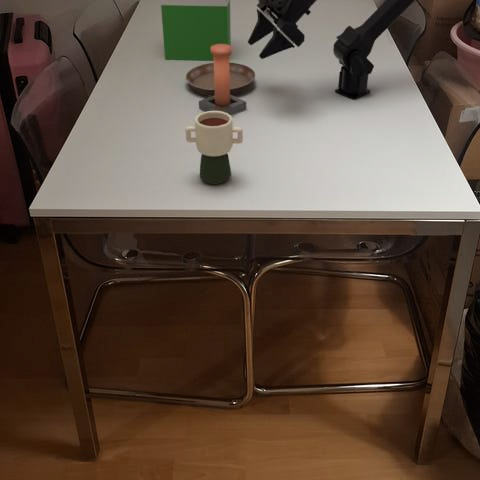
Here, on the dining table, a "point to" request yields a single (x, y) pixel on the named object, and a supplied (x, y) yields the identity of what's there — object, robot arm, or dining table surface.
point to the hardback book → (194, 28)
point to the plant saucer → (204, 78)
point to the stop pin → (221, 73)
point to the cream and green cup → (214, 144)
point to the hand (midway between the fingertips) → (254, 50)
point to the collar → (231, 109)
